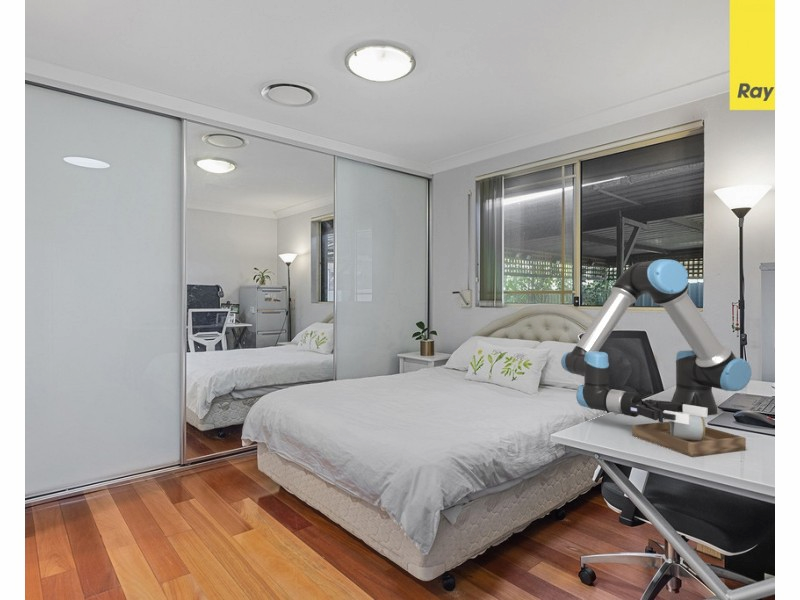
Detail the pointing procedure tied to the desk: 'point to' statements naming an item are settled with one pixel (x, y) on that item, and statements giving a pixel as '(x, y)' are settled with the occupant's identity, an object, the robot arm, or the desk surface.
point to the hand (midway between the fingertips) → (698, 416)
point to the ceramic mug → (689, 429)
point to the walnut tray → (708, 446)
